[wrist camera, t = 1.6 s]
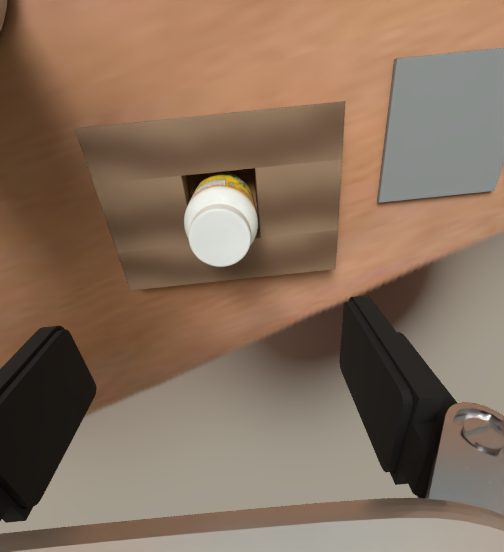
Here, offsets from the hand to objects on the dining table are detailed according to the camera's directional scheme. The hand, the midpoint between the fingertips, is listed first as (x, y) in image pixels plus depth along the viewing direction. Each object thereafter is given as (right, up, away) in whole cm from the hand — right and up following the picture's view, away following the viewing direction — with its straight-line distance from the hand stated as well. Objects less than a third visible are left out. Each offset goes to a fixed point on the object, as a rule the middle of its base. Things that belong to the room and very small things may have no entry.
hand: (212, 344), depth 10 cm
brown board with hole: (-1, +9, +17) cm, 19 cm away
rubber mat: (+18, +15, +15) cm, 28 cm away
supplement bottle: (-1, +9, +17) cm, 19 cm away
